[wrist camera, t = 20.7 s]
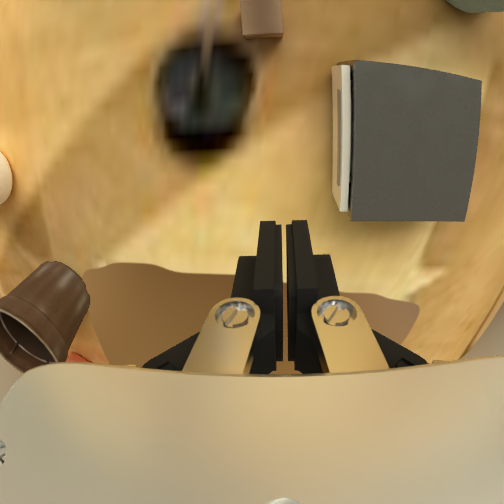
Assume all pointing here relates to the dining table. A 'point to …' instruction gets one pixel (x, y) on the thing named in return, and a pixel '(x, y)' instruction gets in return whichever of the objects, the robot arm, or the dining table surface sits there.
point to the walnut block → (261, 19)
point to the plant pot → (42, 316)
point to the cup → (5, 179)
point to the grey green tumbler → (478, 5)
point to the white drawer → (342, 134)
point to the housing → (412, 142)
